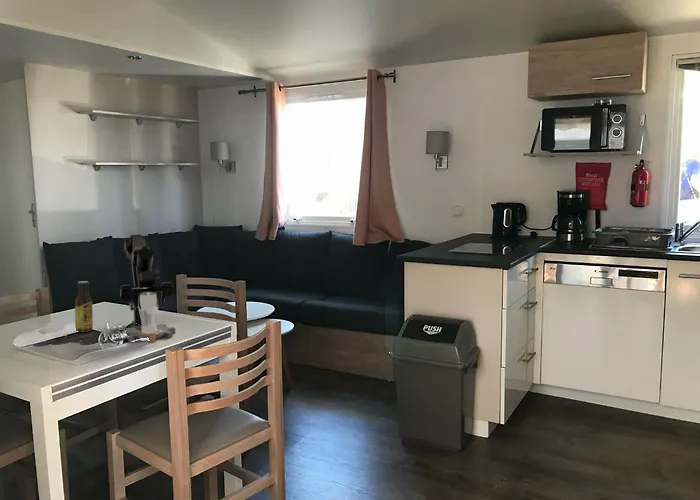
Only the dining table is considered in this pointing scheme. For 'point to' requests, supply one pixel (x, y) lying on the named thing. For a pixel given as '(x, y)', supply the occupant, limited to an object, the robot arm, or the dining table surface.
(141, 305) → the beer glass
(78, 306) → the sauce bottle
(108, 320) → the dining table surface
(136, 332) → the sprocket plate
